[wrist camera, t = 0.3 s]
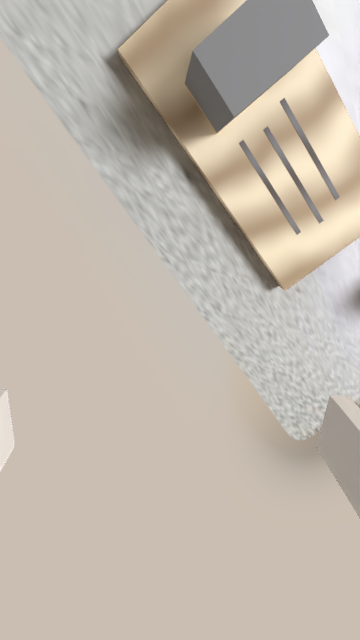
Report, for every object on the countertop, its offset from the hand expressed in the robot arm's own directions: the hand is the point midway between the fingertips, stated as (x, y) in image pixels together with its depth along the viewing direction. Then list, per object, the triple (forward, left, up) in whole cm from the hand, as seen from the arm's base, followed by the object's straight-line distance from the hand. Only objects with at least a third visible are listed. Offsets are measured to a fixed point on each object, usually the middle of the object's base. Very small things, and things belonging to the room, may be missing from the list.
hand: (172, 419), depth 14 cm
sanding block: (-18, +8, -24) cm, 31 cm away
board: (-13, +11, -26) cm, 32 cm away
